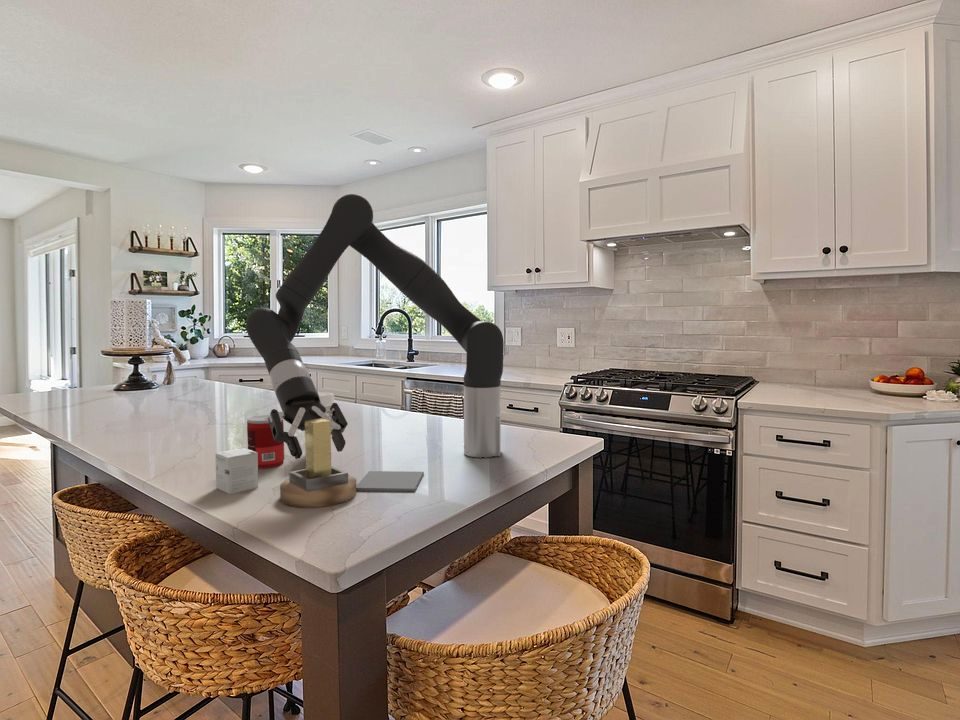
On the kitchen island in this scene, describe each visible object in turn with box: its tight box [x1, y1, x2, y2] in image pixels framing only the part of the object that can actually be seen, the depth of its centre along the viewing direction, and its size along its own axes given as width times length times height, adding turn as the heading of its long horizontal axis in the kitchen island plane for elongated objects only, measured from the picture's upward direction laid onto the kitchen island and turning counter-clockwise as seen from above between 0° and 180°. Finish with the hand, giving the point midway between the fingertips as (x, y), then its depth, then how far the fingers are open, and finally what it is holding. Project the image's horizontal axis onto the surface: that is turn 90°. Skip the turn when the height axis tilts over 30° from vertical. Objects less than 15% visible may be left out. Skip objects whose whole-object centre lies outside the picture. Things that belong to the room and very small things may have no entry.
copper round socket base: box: [279, 465, 358, 509], centre depth 105 cm, size 14×14×4 cm
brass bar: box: [304, 418, 332, 479], centre depth 104 cm, size 4×4×12 cm
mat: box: [356, 470, 425, 492], centre depth 113 cm, size 12×12×1 cm
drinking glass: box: [317, 391, 335, 452], centre depth 139 cm, size 7×7×15 cm
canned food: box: [246, 414, 285, 469], centre depth 127 cm, size 8×8×11 cm
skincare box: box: [215, 447, 259, 495], centre depth 109 cm, size 6×6×7 cm
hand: (321, 452), depth 103 cm, fingers open, 8 cm apart
